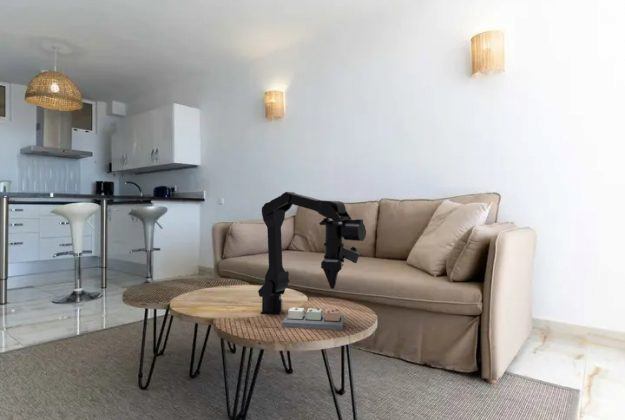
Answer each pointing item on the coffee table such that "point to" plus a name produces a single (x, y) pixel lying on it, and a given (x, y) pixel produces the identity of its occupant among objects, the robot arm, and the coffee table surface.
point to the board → (314, 323)
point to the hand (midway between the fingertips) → (333, 287)
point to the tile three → (332, 315)
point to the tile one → (296, 313)
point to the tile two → (314, 314)
